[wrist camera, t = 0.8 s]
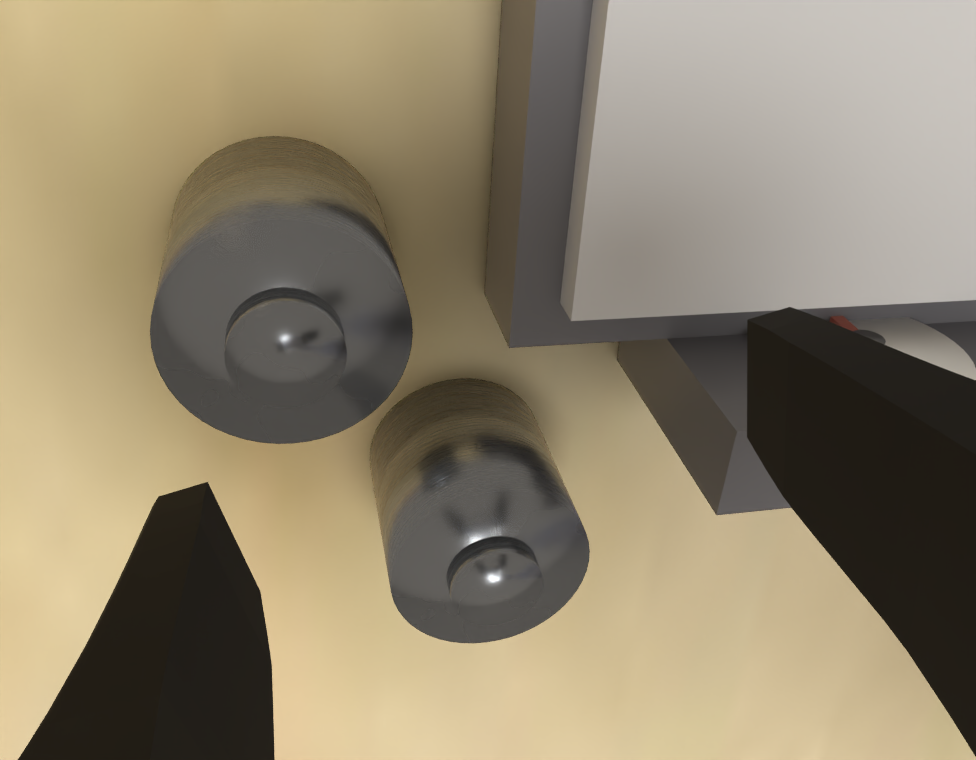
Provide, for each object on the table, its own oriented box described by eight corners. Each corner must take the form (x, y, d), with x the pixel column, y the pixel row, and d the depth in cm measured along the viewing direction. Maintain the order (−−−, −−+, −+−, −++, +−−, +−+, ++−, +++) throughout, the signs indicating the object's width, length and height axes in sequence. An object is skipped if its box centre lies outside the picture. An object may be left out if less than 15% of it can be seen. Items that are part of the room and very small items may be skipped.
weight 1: (384, 324, 21) (415, 453, 17) (185, 334, 20) (165, 473, 16) (383, 135, 19) (419, 230, 14) (157, 137, 18) (127, 238, 14)
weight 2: (531, 509, 25) (585, 650, 21) (370, 525, 24) (393, 675, 20) (545, 372, 23) (609, 500, 18) (368, 384, 22) (393, 521, 17)
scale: (1011, 335, 25) (1196, 466, 20) (480, 368, 22) (543, 532, 17) (1355, -502, 16) (1843, -638, 11) (540, -646, 13) (712, -920, 8)
